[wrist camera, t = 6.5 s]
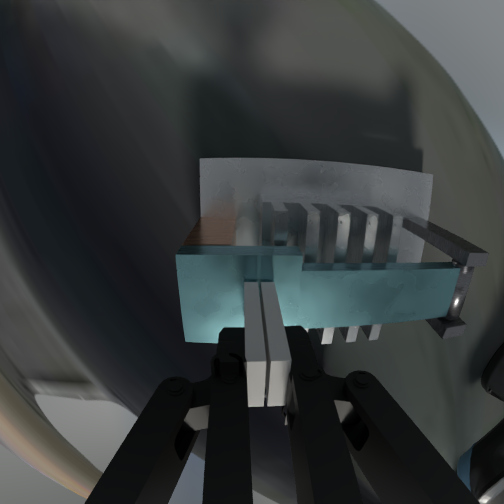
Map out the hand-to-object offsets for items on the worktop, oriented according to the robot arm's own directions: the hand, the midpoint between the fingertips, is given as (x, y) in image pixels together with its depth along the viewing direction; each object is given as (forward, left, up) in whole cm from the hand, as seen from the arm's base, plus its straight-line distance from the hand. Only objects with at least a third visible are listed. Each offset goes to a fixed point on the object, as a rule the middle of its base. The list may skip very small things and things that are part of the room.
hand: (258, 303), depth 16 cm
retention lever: (-6, 0, -2) cm, 6 cm away
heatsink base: (-6, 0, -11) cm, 13 cm away
